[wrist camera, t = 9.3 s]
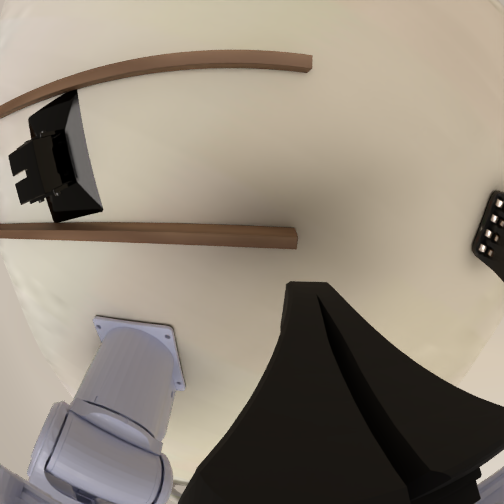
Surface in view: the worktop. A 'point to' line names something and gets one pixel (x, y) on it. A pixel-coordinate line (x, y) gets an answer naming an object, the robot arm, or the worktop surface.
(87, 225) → the loading bay
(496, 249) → the battery charger
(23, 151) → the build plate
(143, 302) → the worktop surface
